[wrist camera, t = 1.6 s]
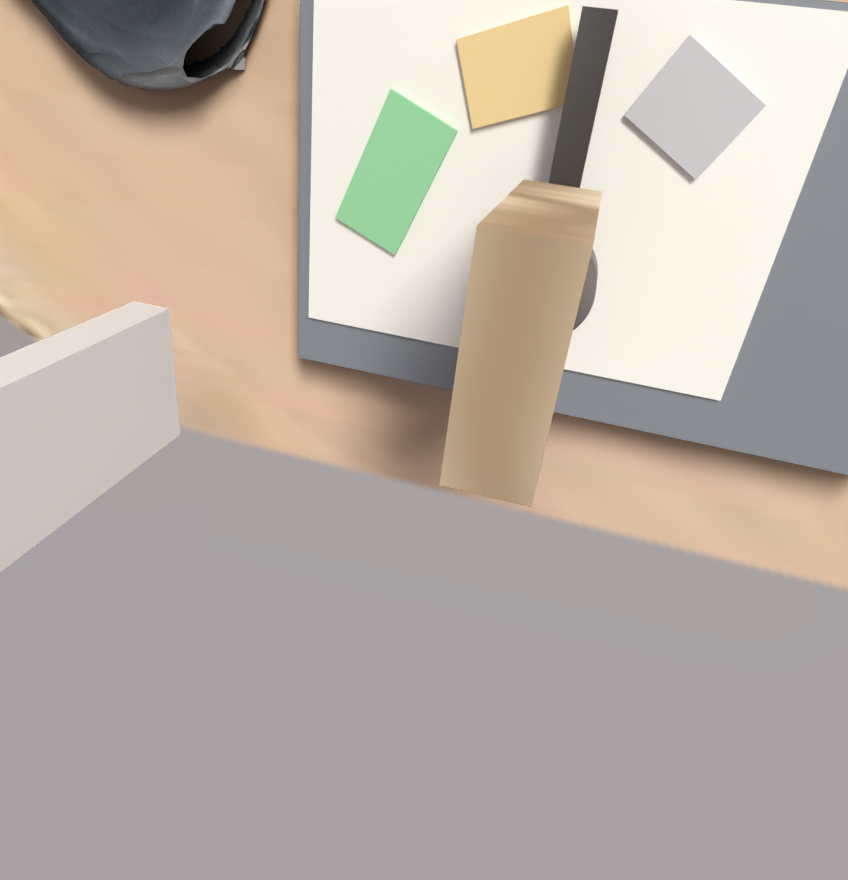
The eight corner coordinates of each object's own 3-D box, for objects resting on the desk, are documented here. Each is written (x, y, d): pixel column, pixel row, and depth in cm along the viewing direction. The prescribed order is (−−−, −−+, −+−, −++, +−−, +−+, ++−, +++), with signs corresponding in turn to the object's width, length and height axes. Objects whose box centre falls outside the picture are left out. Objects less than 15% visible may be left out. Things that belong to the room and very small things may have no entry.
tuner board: (317, 340, 27) (293, 360, 25) (327, -40, 21) (295, -53, 19) (881, 457, 23) (905, 492, 21) (1113, 38, 17) (1179, 33, 15)
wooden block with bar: (485, 348, 23) (418, 479, 15) (543, 6, 18) (485, -52, 10) (575, 366, 22) (552, 512, 15) (661, 19, 17) (694, -33, 10)
